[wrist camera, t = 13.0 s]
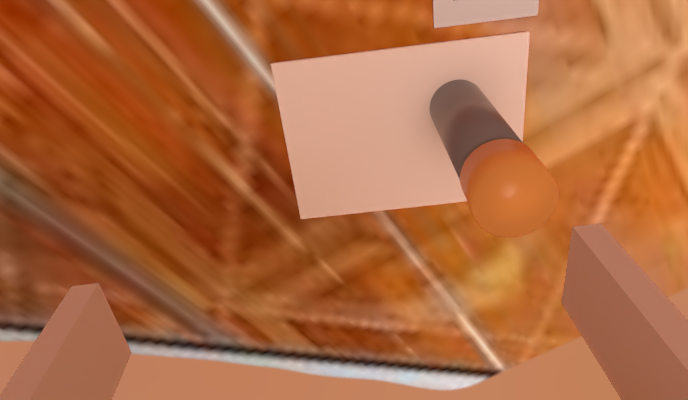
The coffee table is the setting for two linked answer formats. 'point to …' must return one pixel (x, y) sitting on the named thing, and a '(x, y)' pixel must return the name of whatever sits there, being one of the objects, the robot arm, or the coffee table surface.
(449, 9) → the plate
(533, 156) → the marker
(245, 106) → the coffee table surface
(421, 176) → the paper
